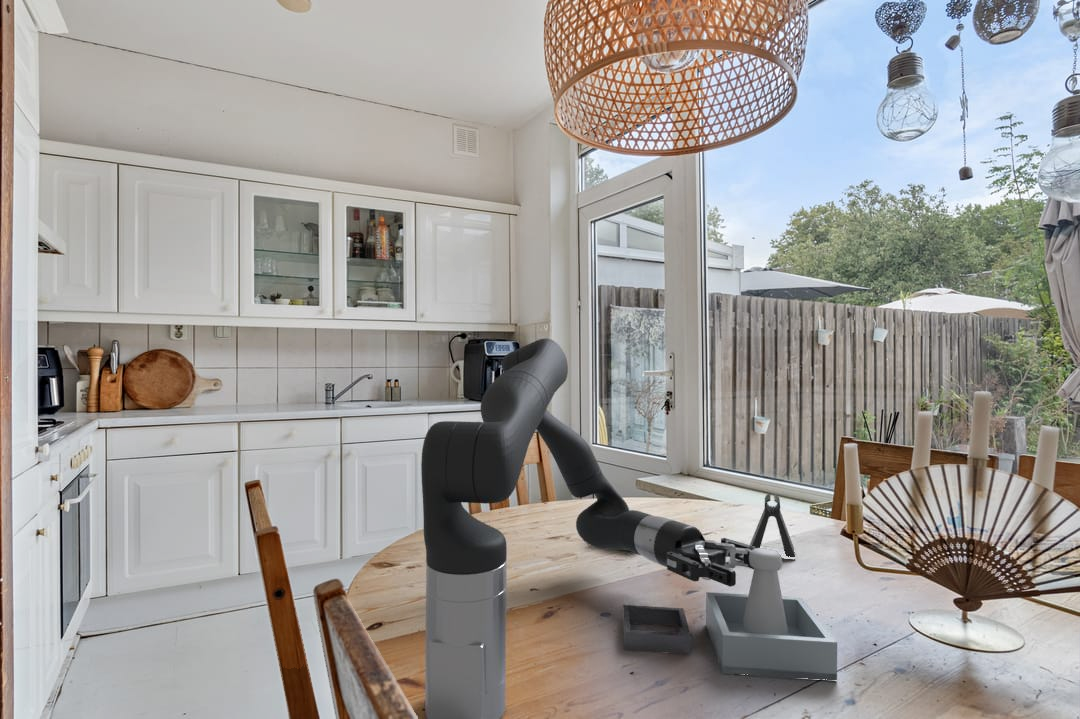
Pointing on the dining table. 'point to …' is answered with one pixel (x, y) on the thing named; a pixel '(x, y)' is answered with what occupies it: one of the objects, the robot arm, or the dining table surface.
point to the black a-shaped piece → (781, 525)
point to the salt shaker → (765, 595)
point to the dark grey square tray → (654, 639)
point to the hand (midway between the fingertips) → (753, 572)
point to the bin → (770, 641)
